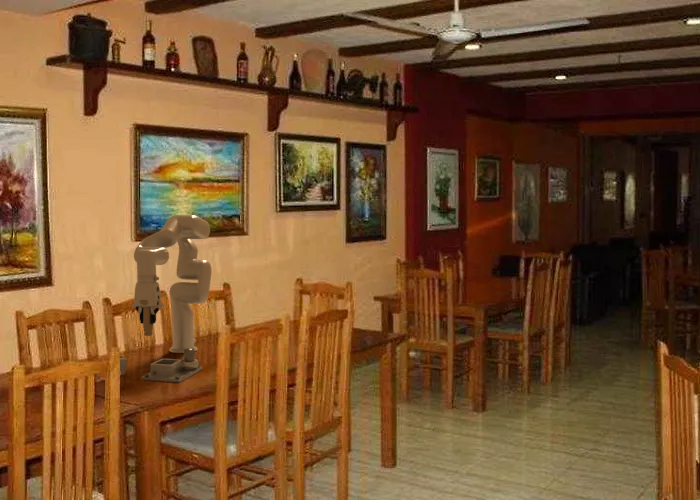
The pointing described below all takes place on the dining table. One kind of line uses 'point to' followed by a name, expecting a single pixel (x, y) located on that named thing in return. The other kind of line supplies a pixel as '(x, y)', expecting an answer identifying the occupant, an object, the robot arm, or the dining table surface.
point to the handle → (146, 319)
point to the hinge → (122, 366)
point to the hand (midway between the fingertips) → (148, 322)
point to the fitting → (174, 368)
